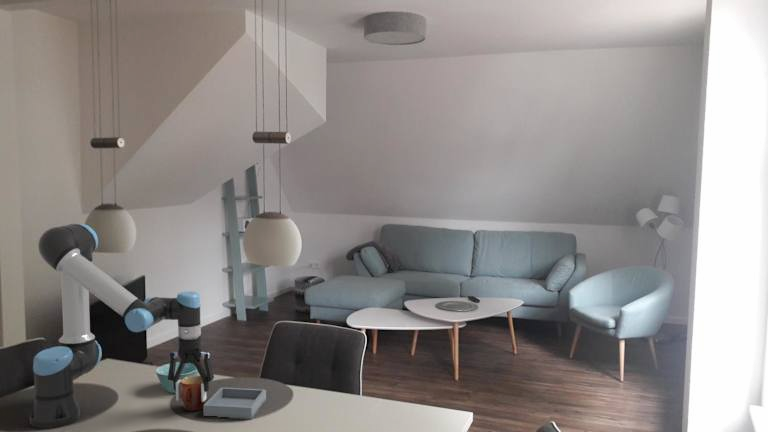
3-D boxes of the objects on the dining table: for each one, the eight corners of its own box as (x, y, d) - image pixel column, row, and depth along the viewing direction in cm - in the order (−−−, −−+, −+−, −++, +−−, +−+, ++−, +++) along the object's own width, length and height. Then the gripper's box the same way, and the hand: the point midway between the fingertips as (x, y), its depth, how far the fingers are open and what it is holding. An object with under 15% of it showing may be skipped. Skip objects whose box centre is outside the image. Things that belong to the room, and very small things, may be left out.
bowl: (149, 388, 244) (149, 367, 244) (188, 378, 255) (188, 358, 254) (166, 400, 233) (166, 378, 232) (206, 389, 243) (206, 368, 243)
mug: (189, 402, 231) (188, 374, 230) (211, 404, 229) (210, 376, 228) (171, 415, 219) (170, 386, 218) (195, 417, 217) (194, 388, 216)
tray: (203, 416, 219) (203, 405, 218) (221, 397, 235) (221, 387, 235) (251, 419, 217) (251, 407, 216) (266, 400, 234) (266, 389, 233)
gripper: (155, 338, 219) (157, 402, 221) (215, 340, 216) (216, 405, 218) (165, 332, 226) (167, 394, 228) (223, 334, 224) (224, 396, 226)
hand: (191, 399), depth 223 cm, fingers closed on mug, 8 cm apart
